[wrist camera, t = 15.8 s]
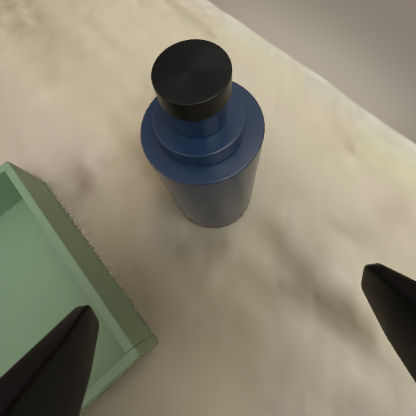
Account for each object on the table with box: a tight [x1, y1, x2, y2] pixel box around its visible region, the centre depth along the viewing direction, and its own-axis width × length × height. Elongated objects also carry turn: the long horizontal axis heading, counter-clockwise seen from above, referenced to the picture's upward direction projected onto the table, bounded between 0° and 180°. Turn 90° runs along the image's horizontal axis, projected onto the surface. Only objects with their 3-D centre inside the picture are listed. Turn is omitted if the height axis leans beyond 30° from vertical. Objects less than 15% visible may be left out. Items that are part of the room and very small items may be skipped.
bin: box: [0, 161, 158, 413], centre depth 18 cm, size 17×13×4 cm
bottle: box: [141, 39, 265, 228], centre depth 16 cm, size 6×6×13 cm
